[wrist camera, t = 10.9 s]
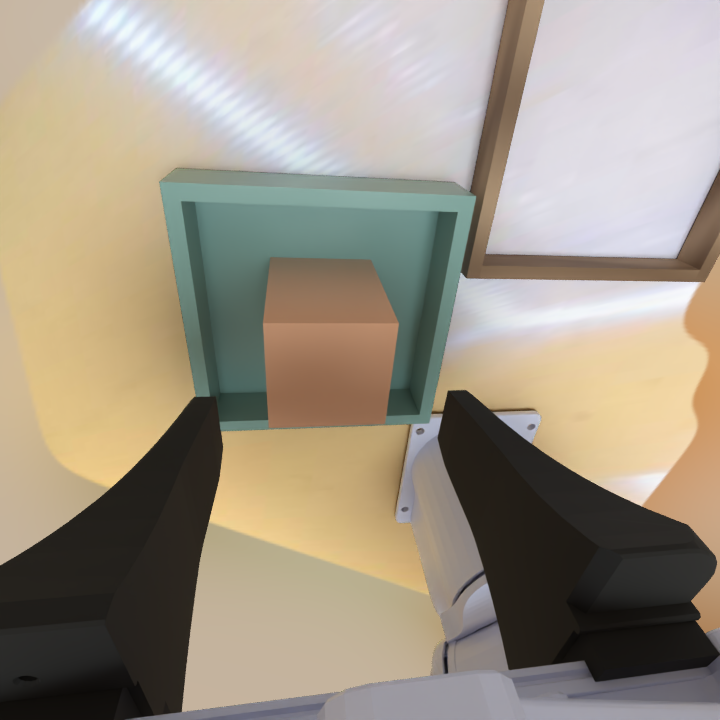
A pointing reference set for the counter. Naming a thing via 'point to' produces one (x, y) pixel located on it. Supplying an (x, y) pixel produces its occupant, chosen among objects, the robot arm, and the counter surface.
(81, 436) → the counter surface
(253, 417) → the teal tray
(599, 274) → the walnut frame
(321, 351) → the terracotta block
